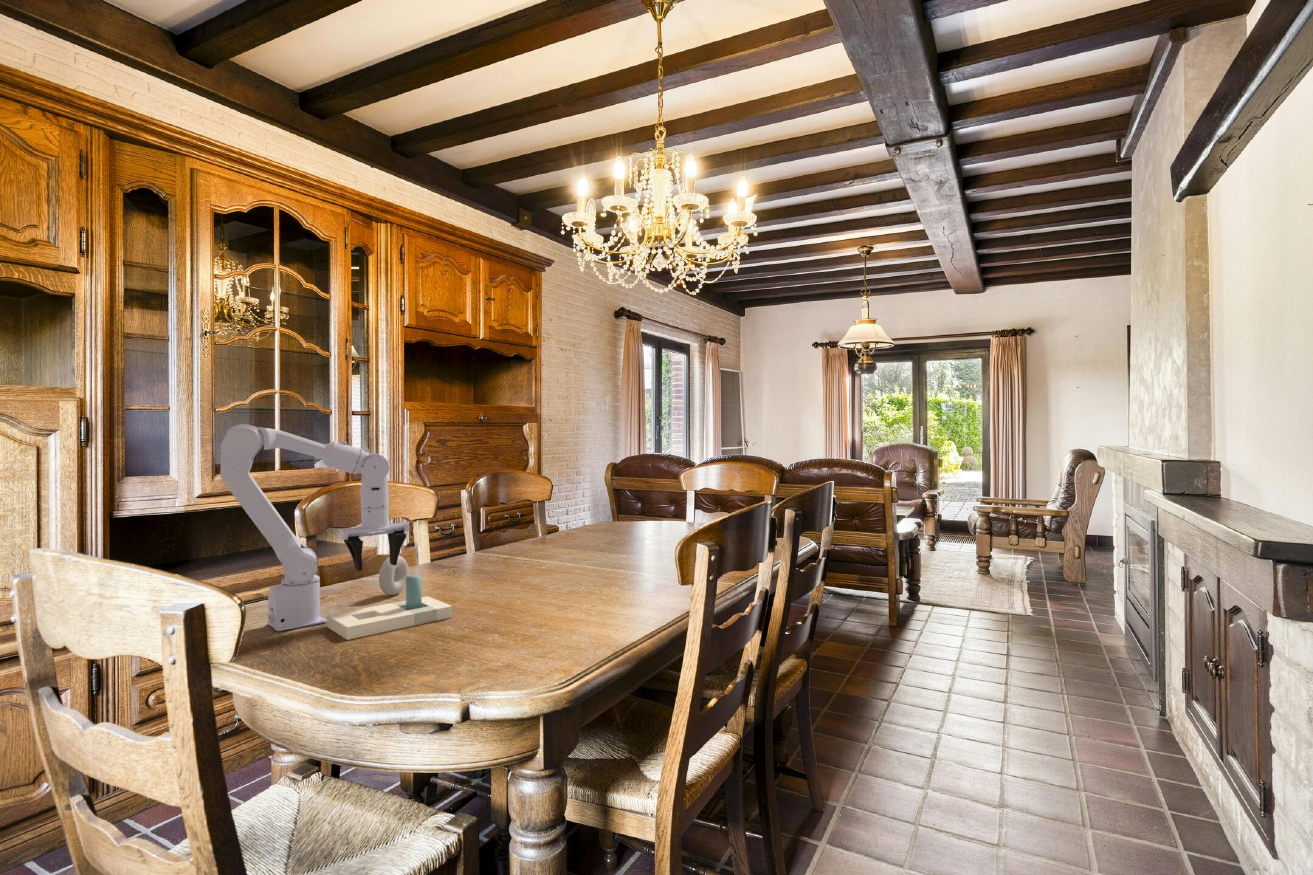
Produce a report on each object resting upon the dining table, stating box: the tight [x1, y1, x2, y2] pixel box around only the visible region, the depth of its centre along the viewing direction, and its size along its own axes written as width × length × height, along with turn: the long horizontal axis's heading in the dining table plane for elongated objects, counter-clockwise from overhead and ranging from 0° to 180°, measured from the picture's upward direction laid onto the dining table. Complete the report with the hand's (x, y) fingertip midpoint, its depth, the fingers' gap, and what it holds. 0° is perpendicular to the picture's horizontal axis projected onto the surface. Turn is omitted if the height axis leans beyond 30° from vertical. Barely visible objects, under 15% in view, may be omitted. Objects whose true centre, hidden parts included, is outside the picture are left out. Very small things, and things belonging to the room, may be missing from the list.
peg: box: [405, 574, 423, 610], centre depth 143 cm, size 3×3×9 cm
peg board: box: [326, 596, 453, 641], centre depth 140 cm, size 22×12×2 cm, turn 134°
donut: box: [378, 554, 409, 596], centre depth 164 cm, size 10×4×10 cm, turn 170°
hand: (376, 567), depth 147 cm, fingers open, 7 cm apart
